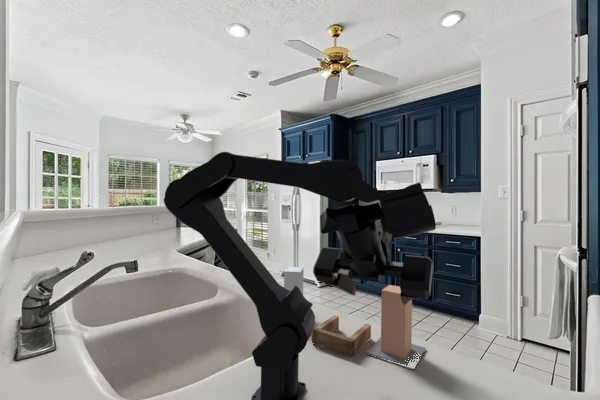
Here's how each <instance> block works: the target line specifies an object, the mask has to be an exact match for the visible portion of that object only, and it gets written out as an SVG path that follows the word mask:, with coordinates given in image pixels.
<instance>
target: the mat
mask: <svg viewBox="0 0 600 400" xmlns="http://www.w3.org/2000/svg"><path fill="white" fill-rule="evenodd" d="M425 349H426V350H427V347H424V346H421V345H418V344H414V343H411V350H410V352H409V353H408V354H407V356H406V357H405V359H404V358H401V357H398V356H395V355H392V354H388V353H385V352H382V351H381V336H380V338H378V339H377V341H376V342H374V343H373V345H372V346H370V348H369V349H368V350H367V351H366V352H365V353H366V354H369V355H373V356H376V357H379V358H383V359H386V360H390V361H393V362H396V363H400V364H404V365H405V364H406V366H407V365H408V363H409V361H410V360H411V359H412V360H413V359H415V358H416V357H418V356H419V355H418V353H419V354H420V355H422V354H423V352H424V351H425V352H426V350H425ZM417 352H418V353H417ZM425 352H424V353H425ZM415 353H416V354H417V355H418V356H416V354H415ZM369 355H368V356H369ZM413 355H415V356H416V357H415V356H413ZM423 355H424V354H423ZM408 357H409V358H408ZM413 357H414V358H413ZM420 357H421V356H419V359H420ZM379 358H378V359H379ZM421 358H422V357H421ZM408 359H409V360H408ZM416 359H418V358H416ZM405 360H406V361H405ZM412 360H411V362H412ZM420 360H421V359H420ZM407 361H408V362H407ZM414 361H415V360H414ZM414 361H413V362H414ZM416 362H417V361H416Z"/></svg>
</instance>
